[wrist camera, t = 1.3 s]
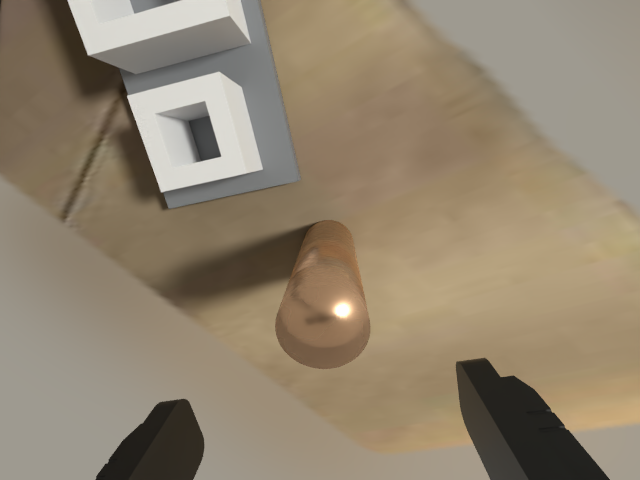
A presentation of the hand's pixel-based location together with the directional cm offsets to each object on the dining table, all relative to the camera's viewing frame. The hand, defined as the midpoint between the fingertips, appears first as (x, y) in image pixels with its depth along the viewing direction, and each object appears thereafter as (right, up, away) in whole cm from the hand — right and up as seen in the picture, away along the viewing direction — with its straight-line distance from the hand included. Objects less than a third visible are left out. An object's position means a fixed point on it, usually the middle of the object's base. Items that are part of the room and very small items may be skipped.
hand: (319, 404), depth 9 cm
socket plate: (-8, +16, +12) cm, 22 cm away
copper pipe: (+1, +4, +15) cm, 16 cm away
